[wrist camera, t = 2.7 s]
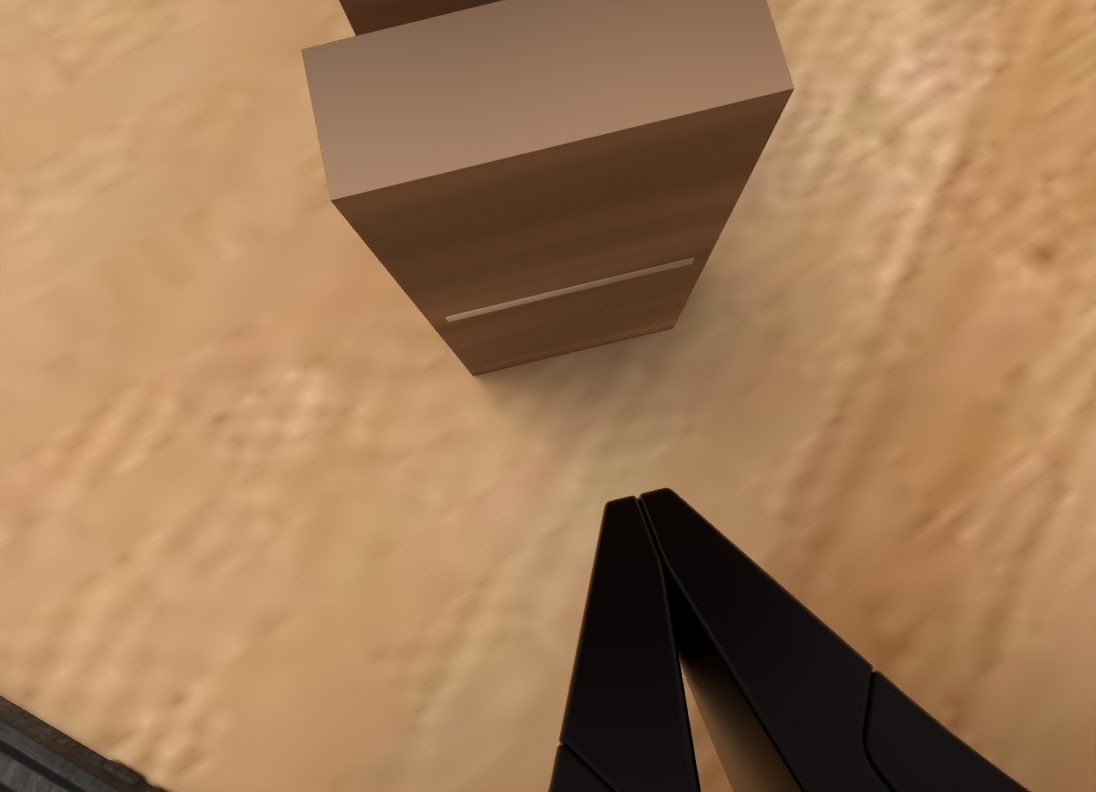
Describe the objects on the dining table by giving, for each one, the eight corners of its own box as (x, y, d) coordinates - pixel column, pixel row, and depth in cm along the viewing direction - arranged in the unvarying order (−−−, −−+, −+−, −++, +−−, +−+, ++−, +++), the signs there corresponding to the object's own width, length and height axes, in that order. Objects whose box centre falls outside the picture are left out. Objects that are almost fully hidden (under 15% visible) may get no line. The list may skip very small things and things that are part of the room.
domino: (673, 328, 17) (795, 91, 7) (473, 376, 17) (331, 203, 8) (653, 257, 18) (746, -61, 8) (457, 305, 18) (301, 47, 8)
